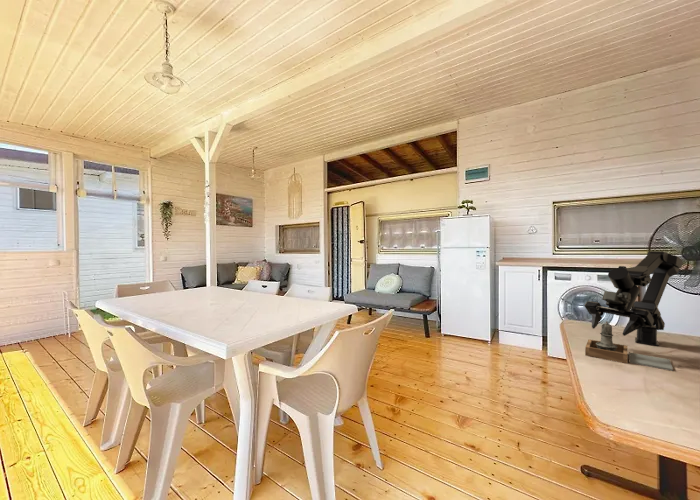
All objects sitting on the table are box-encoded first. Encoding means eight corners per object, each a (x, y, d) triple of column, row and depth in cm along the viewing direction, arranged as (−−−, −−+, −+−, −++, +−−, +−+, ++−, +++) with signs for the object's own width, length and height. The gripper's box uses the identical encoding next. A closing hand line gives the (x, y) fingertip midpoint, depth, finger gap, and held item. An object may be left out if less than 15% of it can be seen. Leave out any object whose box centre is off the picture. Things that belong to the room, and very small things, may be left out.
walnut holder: (588, 347, 117) (588, 339, 117) (627, 354, 109) (627, 345, 109) (585, 355, 109) (585, 347, 108) (627, 363, 101) (627, 354, 101)
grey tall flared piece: (621, 358, 105) (622, 323, 105) (601, 357, 107) (602, 323, 106) (610, 352, 111) (611, 319, 111) (592, 351, 112) (592, 318, 112)
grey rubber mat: (629, 353, 109) (629, 352, 109) (669, 361, 103) (669, 359, 103) (629, 362, 102) (629, 360, 102) (672, 371, 95) (672, 369, 95)
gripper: (587, 280, 119) (569, 311, 115) (650, 286, 102) (632, 323, 98) (598, 298, 123) (582, 329, 118) (661, 307, 106) (644, 344, 101)
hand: (607, 331), depth 109 cm, fingers open, 9 cm apart
